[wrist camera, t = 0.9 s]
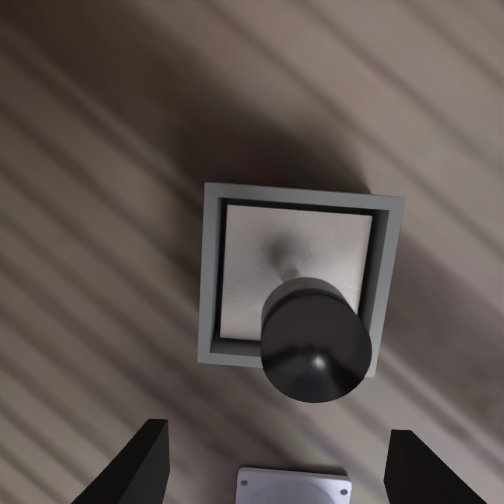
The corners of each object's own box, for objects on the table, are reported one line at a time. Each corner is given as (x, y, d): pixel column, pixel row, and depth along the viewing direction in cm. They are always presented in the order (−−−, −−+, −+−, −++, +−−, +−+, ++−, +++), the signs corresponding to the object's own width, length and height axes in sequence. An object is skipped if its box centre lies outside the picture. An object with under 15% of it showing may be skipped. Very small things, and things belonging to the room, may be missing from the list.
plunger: (350, 344, 18) (415, 465, 10) (221, 333, 18) (190, 446, 10) (369, 215, 16) (463, 244, 9) (228, 204, 16) (200, 224, 9)
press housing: (350, 336, 21) (374, 377, 16) (210, 324, 21) (197, 362, 17) (371, 193, 19) (405, 197, 14) (217, 182, 19) (204, 182, 15)
